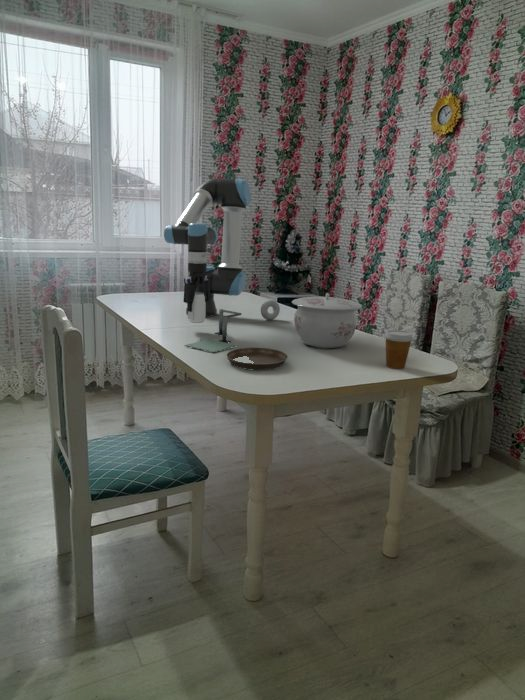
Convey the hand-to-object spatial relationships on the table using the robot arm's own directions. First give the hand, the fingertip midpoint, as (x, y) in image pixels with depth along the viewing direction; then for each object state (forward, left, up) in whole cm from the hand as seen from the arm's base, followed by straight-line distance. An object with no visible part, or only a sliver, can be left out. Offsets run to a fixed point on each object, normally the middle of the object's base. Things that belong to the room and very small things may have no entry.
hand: (196, 317), depth 224 cm
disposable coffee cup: (+84, +8, -6) cm, 85 cm away
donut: (+6, +45, -6) cm, 46 cm away
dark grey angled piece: (+15, -1, -6) cm, 16 cm away
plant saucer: (+47, -23, -6) cm, 53 cm away
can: (0, 0, -2) cm, 2 cm away
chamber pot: (+50, +19, -6) cm, 54 cm away
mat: (+21, -16, -6) cm, 27 cm away
